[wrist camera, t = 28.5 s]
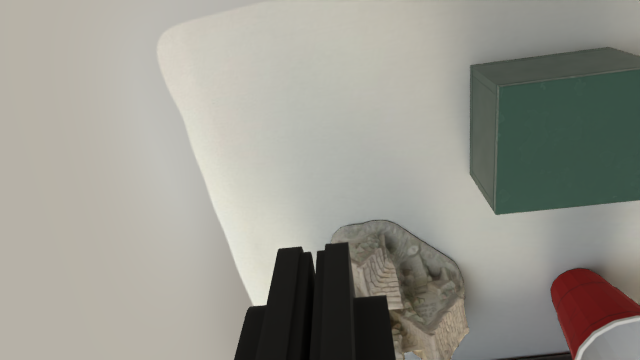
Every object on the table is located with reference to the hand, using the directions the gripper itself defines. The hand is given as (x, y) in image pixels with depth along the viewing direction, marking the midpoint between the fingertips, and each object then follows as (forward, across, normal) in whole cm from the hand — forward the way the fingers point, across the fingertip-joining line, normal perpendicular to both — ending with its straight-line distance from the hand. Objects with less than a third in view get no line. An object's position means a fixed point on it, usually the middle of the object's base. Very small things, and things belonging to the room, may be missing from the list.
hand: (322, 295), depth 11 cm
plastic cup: (+35, -25, +31) cm, 53 cm away
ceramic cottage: (+35, -4, +27) cm, 45 cm away
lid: (+27, -19, +9) cm, 35 cm away
